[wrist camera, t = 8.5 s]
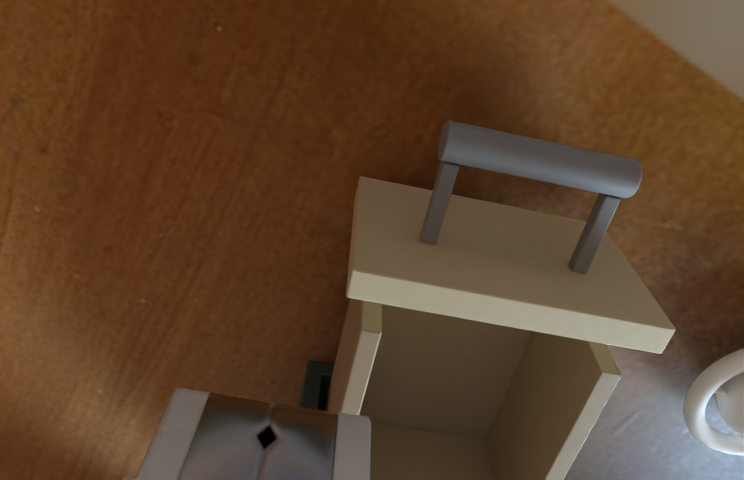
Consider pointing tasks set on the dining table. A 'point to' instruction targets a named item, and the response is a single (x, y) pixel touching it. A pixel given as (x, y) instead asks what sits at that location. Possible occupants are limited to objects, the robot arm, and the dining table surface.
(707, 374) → the ring around a ball
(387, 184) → the drawer
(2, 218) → the dining table surface
